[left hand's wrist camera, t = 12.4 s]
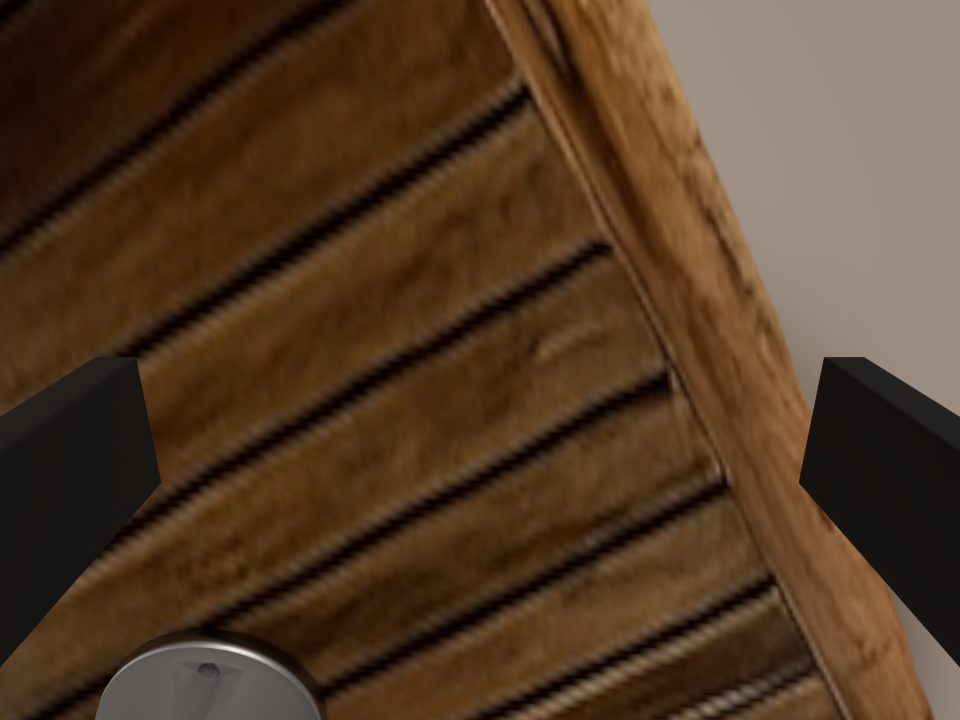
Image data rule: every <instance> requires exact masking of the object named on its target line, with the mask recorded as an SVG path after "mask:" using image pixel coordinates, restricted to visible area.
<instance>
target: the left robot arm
mask: <svg viewBox="0 0 960 720" xmlns="http://www.w3.org/2000/svg"><path fill="white" fill-rule="evenodd" d="M160 484H161V479H160V474H159V469H158V464H157V459H156V454H155V449H154V444H153V439H152V434H151V429H150V425H149V420H148V415H147V410H146V405H145V400H144V395H143V390H142V385H141V380H140V375H139V370H138V365H137V360H136V357H95V358H94V359H92V360H90V361H89V362H87V363H86V364H84V365H82V366H81V367H79V368H78V369H76V370H74V371H73V372H71V373H70V374H68V375H66V376H65V377H63V378H62V379H60V380H58V381H57V382H55V383H54V384H52V385H50V386H49V387H47V388H46V389H44V390H42V391H41V392H39V393H38V394H36V395H34V396H33V397H31V398H30V399H28V400H26V401H25V402H23V403H22V404H20V405H18V406H17V407H15V408H14V409H12V410H10V411H9V412H7V413H6V414H4V415H2V416H1V417H0V667H1V666H2V665H3V664H4V662H5V661H6V660H7V659H8V658H9V657H10V655H11V654H12V653H13V652H14V651H15V650H16V649H17V647H18V646H19V645H20V644H21V643H22V642H23V641H24V639H25V638H26V637H27V636H28V635H29V634H30V633H31V631H32V630H33V629H34V628H35V627H36V626H37V625H38V623H39V622H40V621H41V620H42V619H43V618H44V617H45V615H46V614H47V613H48V612H49V611H50V610H51V609H52V607H53V606H54V605H55V604H56V603H57V602H58V600H59V599H60V598H61V597H62V596H63V595H64V594H65V592H66V591H67V590H68V589H69V588H70V587H71V586H72V584H73V583H74V582H75V581H76V580H77V579H78V578H79V576H80V575H81V574H82V573H83V572H84V571H85V570H86V568H87V567H88V566H89V565H90V564H91V563H92V562H93V560H94V559H95V558H96V557H97V556H98V555H99V553H100V552H101V551H102V550H103V549H104V548H105V547H106V545H107V544H108V543H109V542H110V541H111V540H112V539H113V537H114V536H115V535H116V534H117V533H118V532H119V531H120V529H121V528H122V527H123V526H124V525H125V524H126V523H127V521H128V520H129V519H130V518H131V517H132V516H133V515H134V513H135V512H136V511H137V510H138V509H139V508H140V506H141V505H142V504H143V503H144V502H145V501H146V500H147V498H148V497H149V496H150V495H151V494H152V493H153V492H154V490H155V489H156V488H157V487H158V486H159V485H160ZM799 484H800V485H801V486H802V487H803V488H804V489H805V490H806V492H807V493H808V494H809V495H810V496H811V497H812V498H813V500H814V501H815V502H816V503H817V504H818V505H819V506H820V508H821V509H822V510H823V511H824V512H825V513H826V515H827V516H828V517H829V518H830V519H831V520H832V521H833V523H834V524H835V525H836V526H837V527H838V528H839V529H840V531H841V532H842V533H843V534H844V535H845V536H846V537H847V539H848V540H849V541H850V542H851V543H852V544H853V545H854V547H855V548H856V549H857V550H858V551H859V552H860V553H861V555H862V556H863V557H864V558H865V559H866V560H867V562H868V563H869V564H870V565H871V566H872V567H873V568H874V570H875V571H876V572H877V573H878V574H879V575H880V576H881V578H882V579H883V580H884V581H885V582H886V583H887V584H888V586H889V587H890V588H891V589H892V590H893V591H894V592H895V594H896V595H897V596H898V597H899V598H900V599H901V600H902V602H903V603H904V604H905V605H906V606H907V607H908V609H909V610H910V611H911V612H912V613H913V614H914V615H915V616H916V618H917V619H918V620H919V621H920V622H921V623H922V624H923V626H924V627H925V628H926V629H927V630H928V631H929V632H930V634H931V635H932V636H933V637H934V638H935V639H936V641H937V642H938V643H939V644H940V645H941V646H942V647H943V649H944V650H945V651H946V652H947V653H948V654H949V655H950V657H951V658H952V659H953V660H954V661H955V662H956V664H957V665H958V666H959V667H960V417H959V416H958V415H956V414H954V413H953V412H951V411H950V410H948V409H946V408H945V407H943V406H942V405H940V404H938V403H937V402H935V401H934V400H932V399H930V398H929V397H927V396H926V395H924V394H922V393H921V392H919V391H918V390H916V389H914V388H913V387H911V386H910V385H908V384H906V383H905V382H903V381H902V380H900V379H898V378H897V377H895V376H894V375H892V374H890V373H889V372H887V371H886V370H884V369H882V368H881V367H879V366H877V365H876V364H874V363H873V362H871V361H869V360H868V359H866V358H865V357H824V360H823V365H822V370H821V375H820V380H819V385H818V390H817V395H816V400H815V405H814V410H813V415H812V420H811V425H810V429H809V434H808V439H807V444H806V449H805V454H804V459H803V464H802V469H801V474H800V479H799ZM95 720H327V715H326V708H325V703H324V700H323V697H322V695H321V693H320V691H319V689H318V687H317V685H316V684H315V682H314V680H313V679H312V678H311V676H310V675H309V674H308V673H307V672H306V671H305V670H304V668H303V667H302V666H301V665H299V664H298V663H297V662H296V661H295V660H294V659H292V658H291V657H290V656H288V655H287V654H286V653H284V652H282V651H281V650H279V649H277V648H276V647H274V646H272V645H270V644H268V643H266V642H263V641H261V640H259V639H256V638H253V637H250V636H247V635H243V634H239V633H235V632H229V631H223V630H213V629H197V630H186V631H179V632H175V633H171V634H167V635H164V636H161V637H158V638H156V639H154V640H151V641H149V642H147V643H146V644H144V645H142V646H141V647H139V648H138V649H136V650H135V651H134V652H133V653H132V654H130V655H129V656H128V657H127V658H126V659H125V661H124V662H123V663H122V664H121V666H120V667H119V669H118V670H117V672H116V673H115V675H114V676H113V678H112V679H111V681H110V683H109V684H108V686H107V687H106V689H105V691H104V693H103V695H102V698H101V701H100V703H99V706H98V709H97V713H96V717H95Z"/></svg>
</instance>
